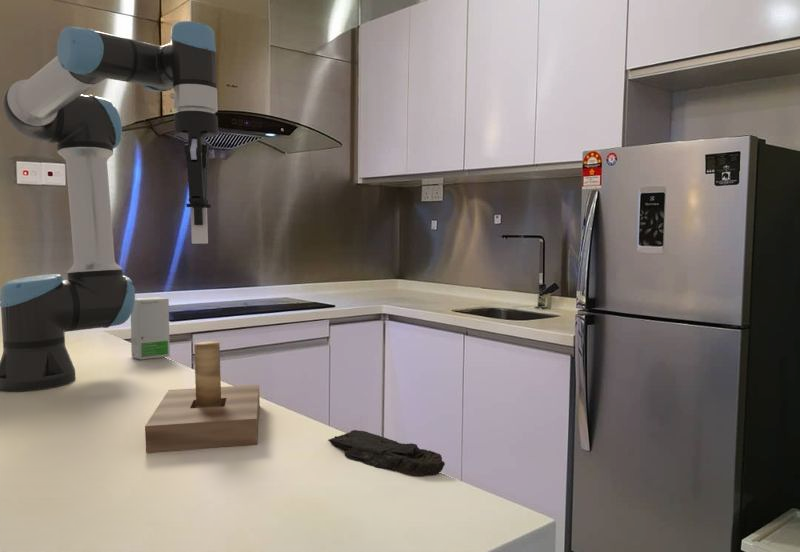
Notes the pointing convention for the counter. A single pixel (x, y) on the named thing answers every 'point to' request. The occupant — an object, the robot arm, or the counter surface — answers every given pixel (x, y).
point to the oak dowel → (207, 374)
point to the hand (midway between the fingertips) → (199, 243)
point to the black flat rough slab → (388, 453)
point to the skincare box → (150, 328)
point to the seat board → (204, 420)
